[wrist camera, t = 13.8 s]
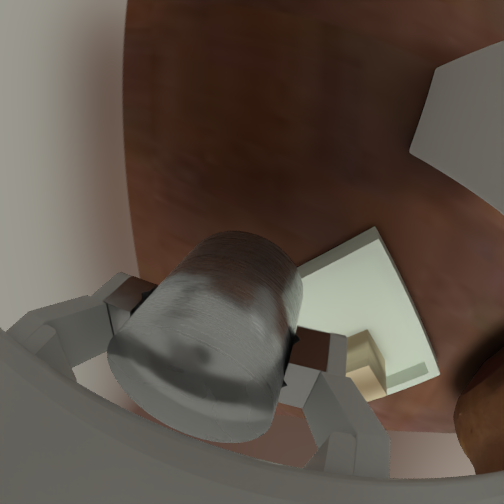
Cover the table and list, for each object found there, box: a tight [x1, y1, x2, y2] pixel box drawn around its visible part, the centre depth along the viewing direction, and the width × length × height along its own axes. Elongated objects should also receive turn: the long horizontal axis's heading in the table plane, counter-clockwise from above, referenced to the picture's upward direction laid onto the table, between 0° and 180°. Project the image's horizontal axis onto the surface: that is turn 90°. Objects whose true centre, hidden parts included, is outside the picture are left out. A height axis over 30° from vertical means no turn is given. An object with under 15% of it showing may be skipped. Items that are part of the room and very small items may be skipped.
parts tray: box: [296, 226, 440, 395], centre depth 25 cm, size 16×14×2 cm
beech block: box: [346, 329, 387, 402], centre depth 24 cm, size 4×4×4 cm
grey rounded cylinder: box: [107, 231, 303, 443], centre depth 9 cm, size 4×4×5 cm
